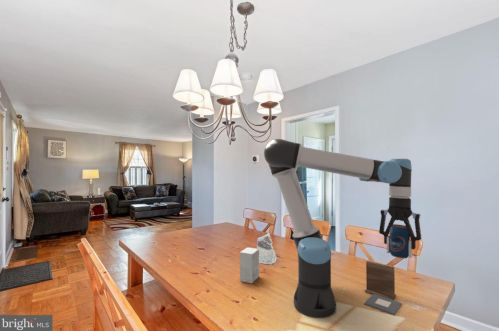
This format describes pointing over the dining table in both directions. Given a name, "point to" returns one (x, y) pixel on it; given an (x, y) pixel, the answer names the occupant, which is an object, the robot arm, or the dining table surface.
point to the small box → (249, 265)
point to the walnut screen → (380, 280)
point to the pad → (383, 304)
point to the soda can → (399, 241)
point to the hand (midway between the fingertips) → (399, 254)
